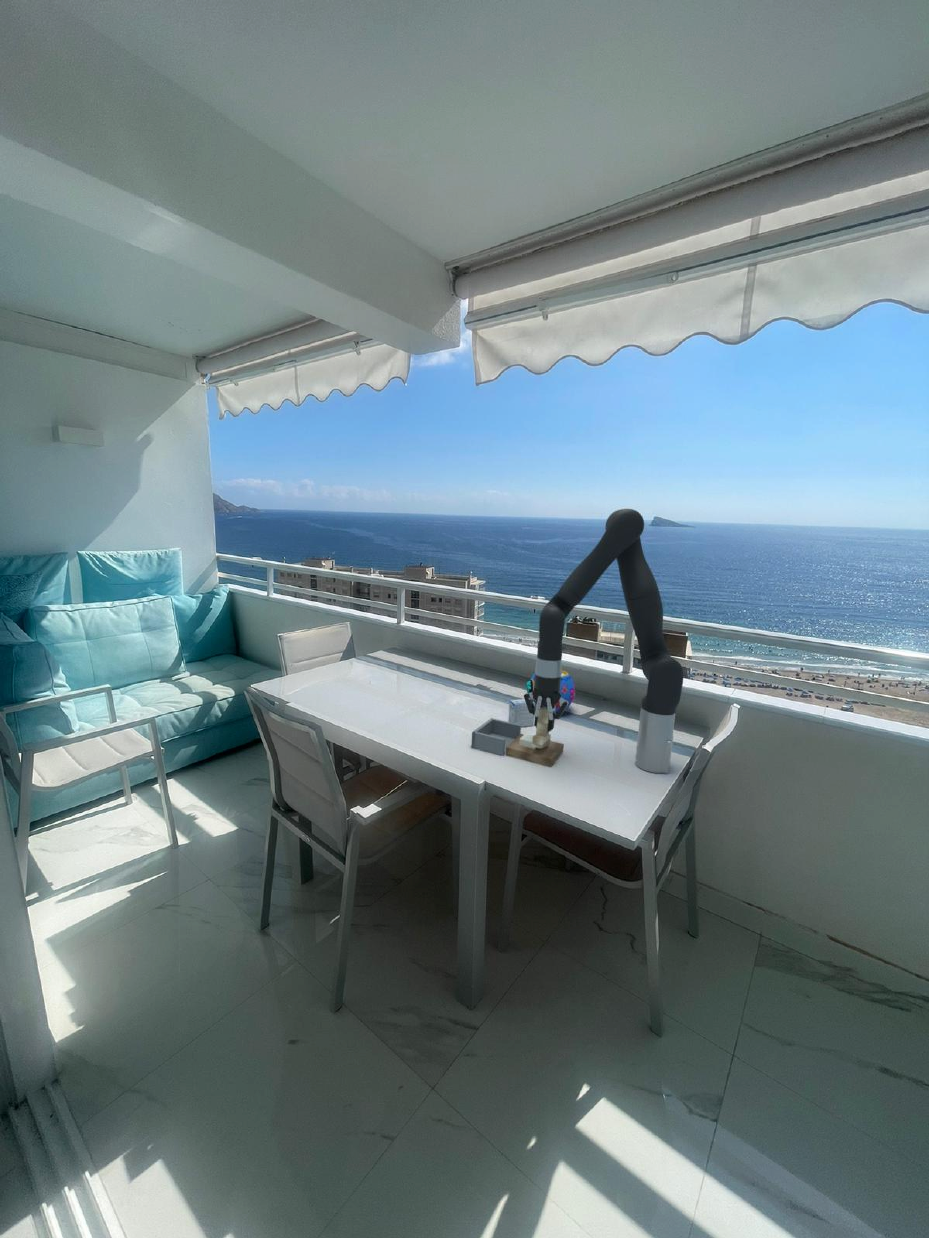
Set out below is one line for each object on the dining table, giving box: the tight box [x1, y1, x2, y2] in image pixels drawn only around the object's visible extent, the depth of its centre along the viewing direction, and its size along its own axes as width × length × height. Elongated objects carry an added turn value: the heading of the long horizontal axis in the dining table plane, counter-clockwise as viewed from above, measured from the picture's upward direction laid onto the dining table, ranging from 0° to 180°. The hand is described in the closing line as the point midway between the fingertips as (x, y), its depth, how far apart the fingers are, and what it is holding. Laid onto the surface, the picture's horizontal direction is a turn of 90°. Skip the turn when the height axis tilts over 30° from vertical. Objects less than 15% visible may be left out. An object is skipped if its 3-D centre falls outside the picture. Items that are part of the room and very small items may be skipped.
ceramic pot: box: [525, 669, 576, 713], centre depth 182 cm, size 18×18×15 cm
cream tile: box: [519, 733, 537, 749], centre depth 146 cm, size 5×5×2 cm
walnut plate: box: [505, 733, 565, 768], centre depth 145 cm, size 14×12×2 cm
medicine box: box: [507, 698, 535, 728], centre depth 167 cm, size 8×4×9 cm, turn 111°
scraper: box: [532, 707, 552, 749], centre depth 142 cm, size 3×8×11 cm, turn 152°
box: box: [471, 717, 522, 757], centre depth 151 cm, size 10×14×5 cm
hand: (543, 729), depth 143 cm, fingers closed on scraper, 3 cm apart
